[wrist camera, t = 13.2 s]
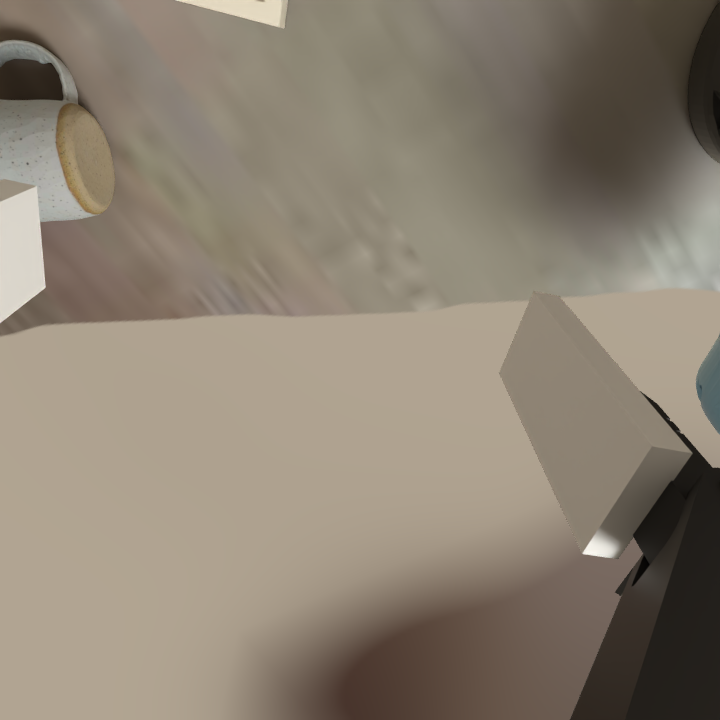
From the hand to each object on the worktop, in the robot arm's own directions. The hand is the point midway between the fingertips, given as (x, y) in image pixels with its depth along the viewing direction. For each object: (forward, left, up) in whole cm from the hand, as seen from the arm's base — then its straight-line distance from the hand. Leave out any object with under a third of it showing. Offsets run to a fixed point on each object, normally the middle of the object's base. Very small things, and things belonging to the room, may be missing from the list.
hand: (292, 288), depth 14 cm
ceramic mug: (+19, +4, -27) cm, 33 cm away
